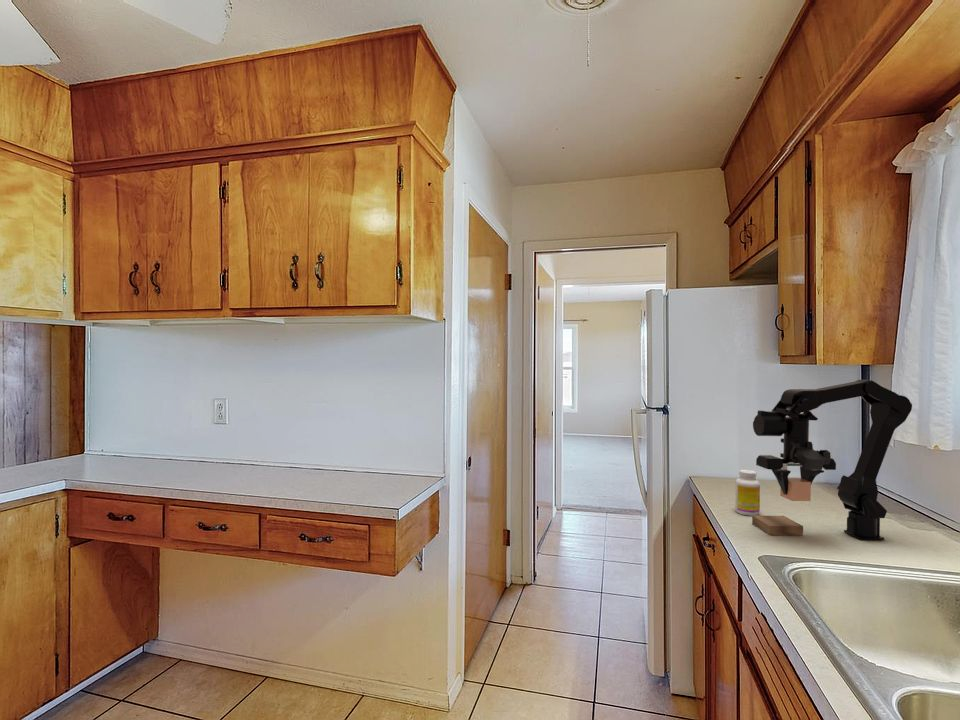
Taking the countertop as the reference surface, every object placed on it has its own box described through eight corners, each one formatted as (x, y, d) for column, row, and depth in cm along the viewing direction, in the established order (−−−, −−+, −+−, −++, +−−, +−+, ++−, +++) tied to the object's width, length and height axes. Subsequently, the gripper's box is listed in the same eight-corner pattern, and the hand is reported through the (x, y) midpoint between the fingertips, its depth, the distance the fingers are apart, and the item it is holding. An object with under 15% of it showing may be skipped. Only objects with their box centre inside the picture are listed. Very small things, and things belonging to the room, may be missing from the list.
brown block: (783, 524, 149) (783, 515, 149) (803, 535, 140) (803, 526, 140) (752, 524, 149) (752, 515, 149) (769, 535, 140) (769, 525, 140)
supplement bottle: (762, 517, 155) (763, 474, 155) (738, 515, 157) (739, 473, 156) (755, 510, 162) (756, 469, 162) (732, 509, 163) (733, 468, 163)
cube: (798, 495, 142) (798, 477, 142) (810, 500, 137) (810, 482, 137) (780, 495, 142) (780, 477, 141) (792, 500, 137) (792, 482, 136)
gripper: (780, 441, 131) (779, 503, 131) (852, 441, 131) (851, 503, 132) (755, 434, 142) (754, 491, 142) (821, 434, 142) (820, 491, 143)
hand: (794, 494), depth 139 cm, fingers closed on cube, 5 cm apart
